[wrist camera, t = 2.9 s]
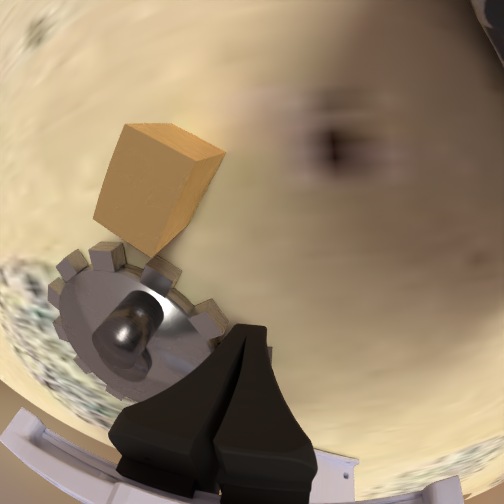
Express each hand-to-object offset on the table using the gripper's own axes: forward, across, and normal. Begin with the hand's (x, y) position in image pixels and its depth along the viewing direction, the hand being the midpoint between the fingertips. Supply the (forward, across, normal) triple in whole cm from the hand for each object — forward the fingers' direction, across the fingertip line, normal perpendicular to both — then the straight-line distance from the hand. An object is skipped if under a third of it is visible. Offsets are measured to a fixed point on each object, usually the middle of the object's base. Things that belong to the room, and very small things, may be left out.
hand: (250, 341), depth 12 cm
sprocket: (+3, +8, +4) cm, 10 cm away
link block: (+3, +4, -7) cm, 8 cm away
